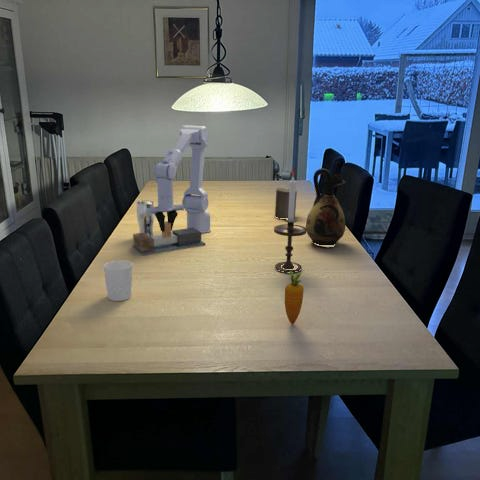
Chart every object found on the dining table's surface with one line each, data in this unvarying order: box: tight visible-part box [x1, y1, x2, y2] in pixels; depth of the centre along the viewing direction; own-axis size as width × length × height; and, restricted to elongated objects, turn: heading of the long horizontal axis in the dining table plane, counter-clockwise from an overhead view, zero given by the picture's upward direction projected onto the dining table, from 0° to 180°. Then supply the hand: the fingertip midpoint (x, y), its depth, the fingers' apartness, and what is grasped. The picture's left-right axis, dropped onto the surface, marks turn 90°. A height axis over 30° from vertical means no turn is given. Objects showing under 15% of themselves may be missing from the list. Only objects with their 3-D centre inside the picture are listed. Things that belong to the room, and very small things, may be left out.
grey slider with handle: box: [150, 220, 179, 246], centre depth 193 cm, size 16×4×8 cm, turn 121°
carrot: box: [284, 271, 305, 325], centre depth 131 cm, size 5×5×15 cm
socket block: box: [132, 233, 154, 252], centre depth 188 cm, size 4×9×5 cm, turn 31°
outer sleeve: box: [131, 227, 206, 256], centre depth 193 cm, size 26×11×5 cm, turn 121°
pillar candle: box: [274, 186, 298, 218], centre depth 236 cm, size 10×10×15 cm
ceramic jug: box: [305, 167, 346, 245], centre depth 196 cm, size 17×15×30 cm
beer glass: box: [136, 200, 155, 236], centre depth 200 cm, size 7×7×15 cm
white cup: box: [103, 259, 133, 302], centre depth 146 cm, size 8×8×10 cm
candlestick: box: [273, 168, 307, 272], centre depth 168 cm, size 11×11×35 cm
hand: (166, 230), depth 192 cm, fingers closed on grey slider with handle, 2 cm apart
